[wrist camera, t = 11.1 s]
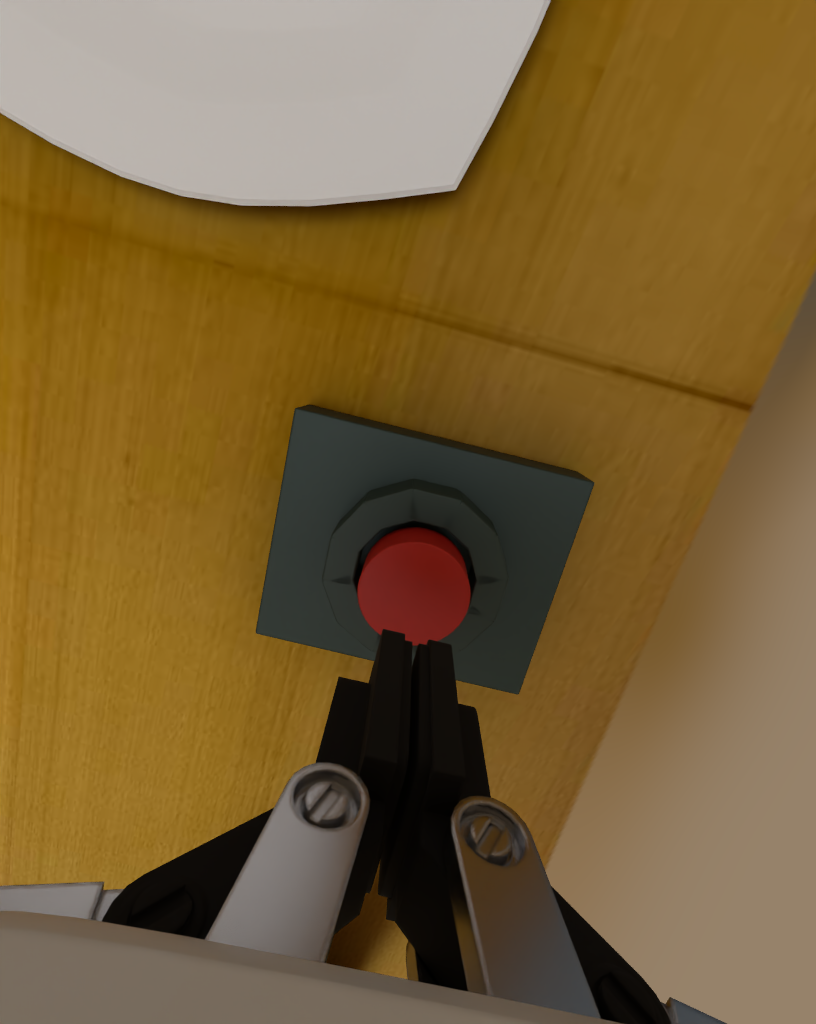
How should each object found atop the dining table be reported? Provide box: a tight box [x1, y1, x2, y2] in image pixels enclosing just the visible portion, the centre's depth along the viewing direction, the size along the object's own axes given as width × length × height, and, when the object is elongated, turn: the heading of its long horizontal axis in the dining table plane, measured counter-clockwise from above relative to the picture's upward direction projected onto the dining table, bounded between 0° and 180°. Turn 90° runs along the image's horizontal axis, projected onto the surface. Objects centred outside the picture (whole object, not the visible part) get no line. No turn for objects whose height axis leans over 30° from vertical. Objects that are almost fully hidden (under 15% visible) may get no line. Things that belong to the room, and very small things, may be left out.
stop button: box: [357, 527, 471, 645], centre depth 18 cm, size 4×4×2 cm
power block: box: [256, 405, 594, 694], centre depth 20 cm, size 12×10×4 cm
